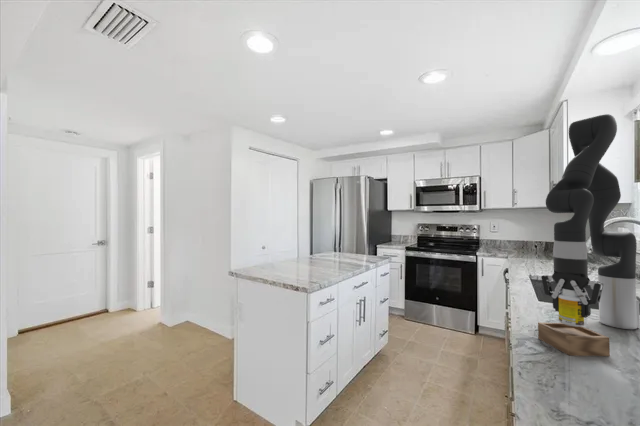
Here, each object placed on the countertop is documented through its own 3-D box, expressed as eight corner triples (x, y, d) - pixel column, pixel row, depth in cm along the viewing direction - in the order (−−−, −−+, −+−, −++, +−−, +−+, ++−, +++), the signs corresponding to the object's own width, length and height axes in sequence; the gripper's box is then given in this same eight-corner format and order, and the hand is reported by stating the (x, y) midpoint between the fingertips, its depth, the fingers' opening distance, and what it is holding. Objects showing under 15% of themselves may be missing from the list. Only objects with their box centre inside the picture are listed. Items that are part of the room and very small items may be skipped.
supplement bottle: (580, 329, 78) (580, 292, 78) (555, 323, 83) (555, 288, 83) (586, 325, 81) (586, 290, 81) (562, 319, 86) (561, 286, 86)
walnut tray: (573, 338, 87) (573, 322, 87) (609, 356, 76) (609, 337, 76) (538, 338, 87) (538, 322, 87) (569, 355, 76) (568, 337, 76)
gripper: (608, 258, 78) (609, 319, 77) (546, 253, 90) (547, 305, 90) (598, 260, 74) (599, 324, 74) (535, 254, 87) (536, 309, 86)
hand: (571, 313), depth 82 cm, fingers closed on supplement bottle, 5 cm apart
